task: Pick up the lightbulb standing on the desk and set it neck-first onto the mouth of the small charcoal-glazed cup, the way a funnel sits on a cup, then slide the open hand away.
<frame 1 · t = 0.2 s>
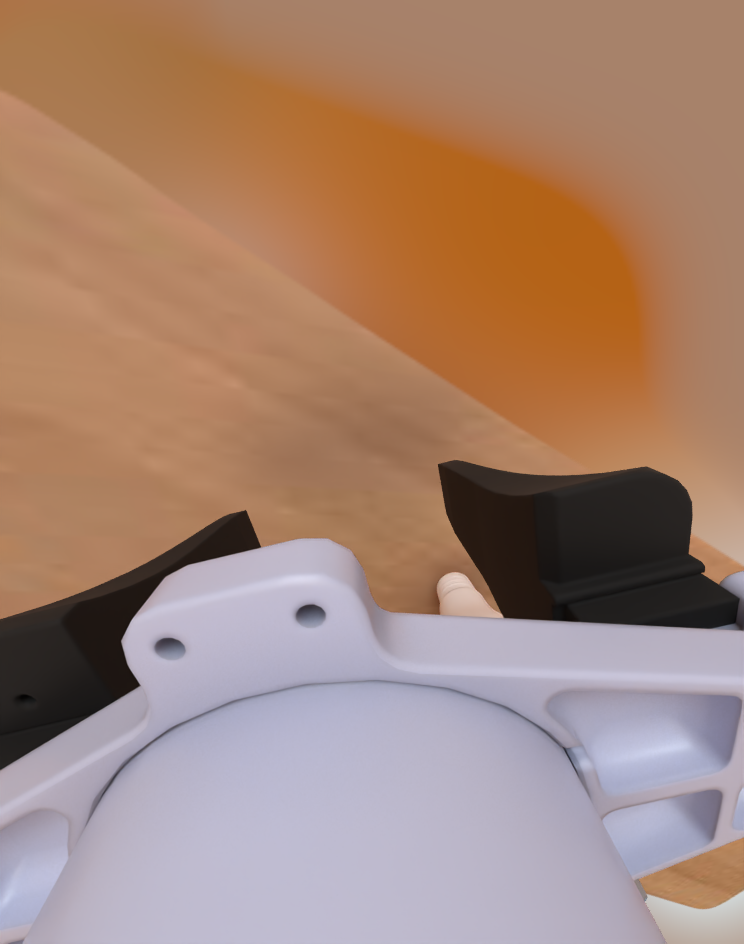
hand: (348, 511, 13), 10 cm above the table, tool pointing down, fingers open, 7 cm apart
lightbulb: (449, 578, 27), on the table
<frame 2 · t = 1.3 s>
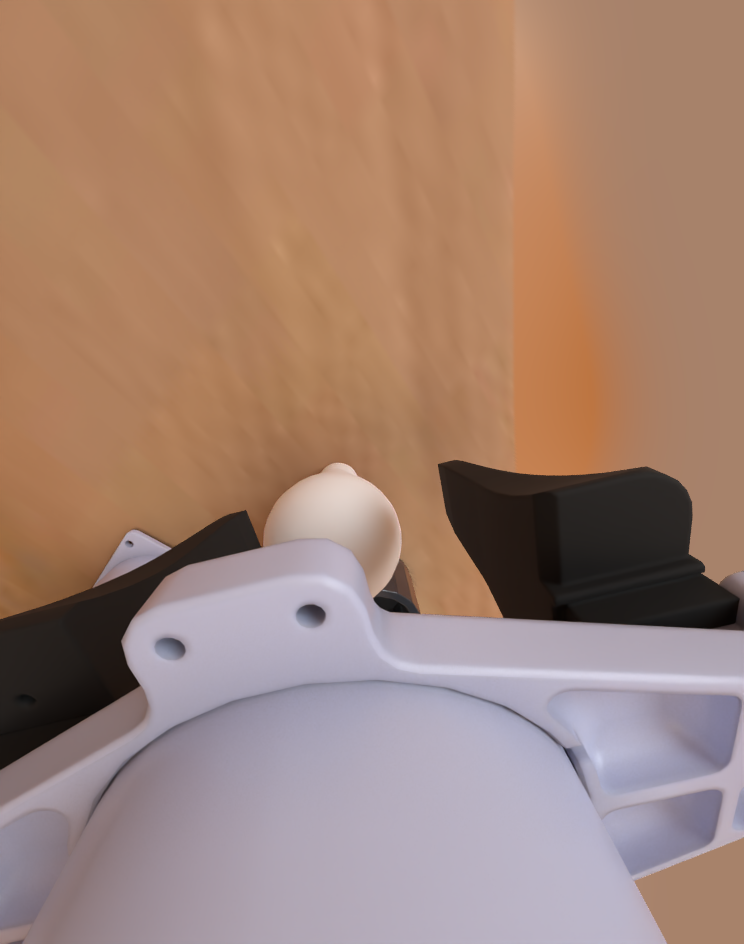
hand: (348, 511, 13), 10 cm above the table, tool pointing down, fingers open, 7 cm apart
lightbulb: (338, 475, 23), on the table
cup: (371, 582, 26), on the table
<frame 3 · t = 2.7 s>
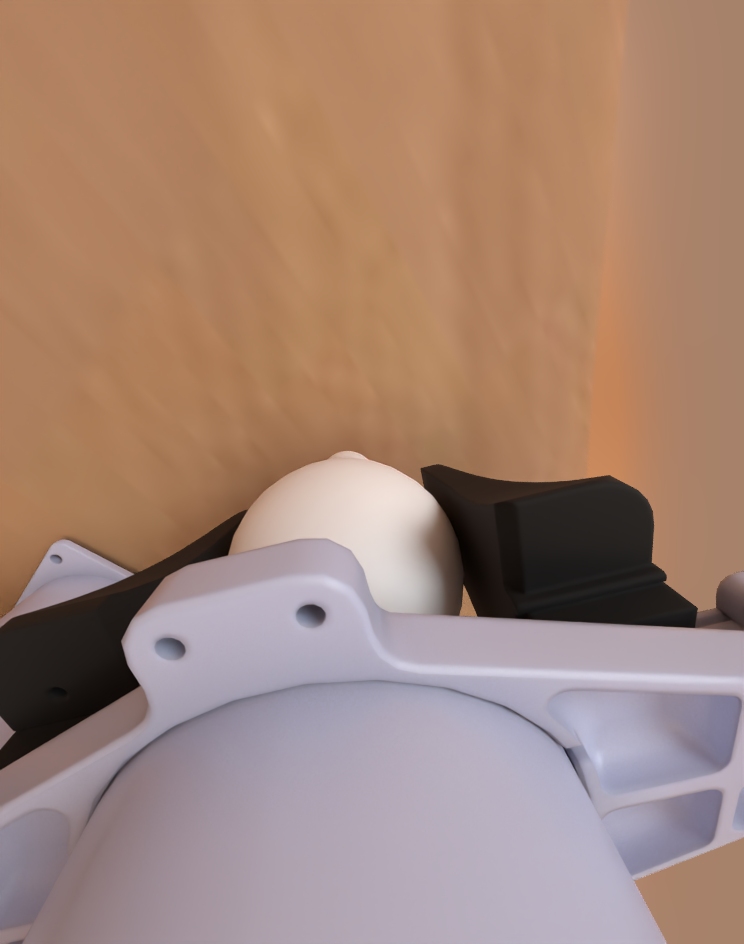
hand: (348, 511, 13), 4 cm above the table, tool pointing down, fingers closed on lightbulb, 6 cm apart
lightbulb: (347, 469, 17), on the table, touching gripper
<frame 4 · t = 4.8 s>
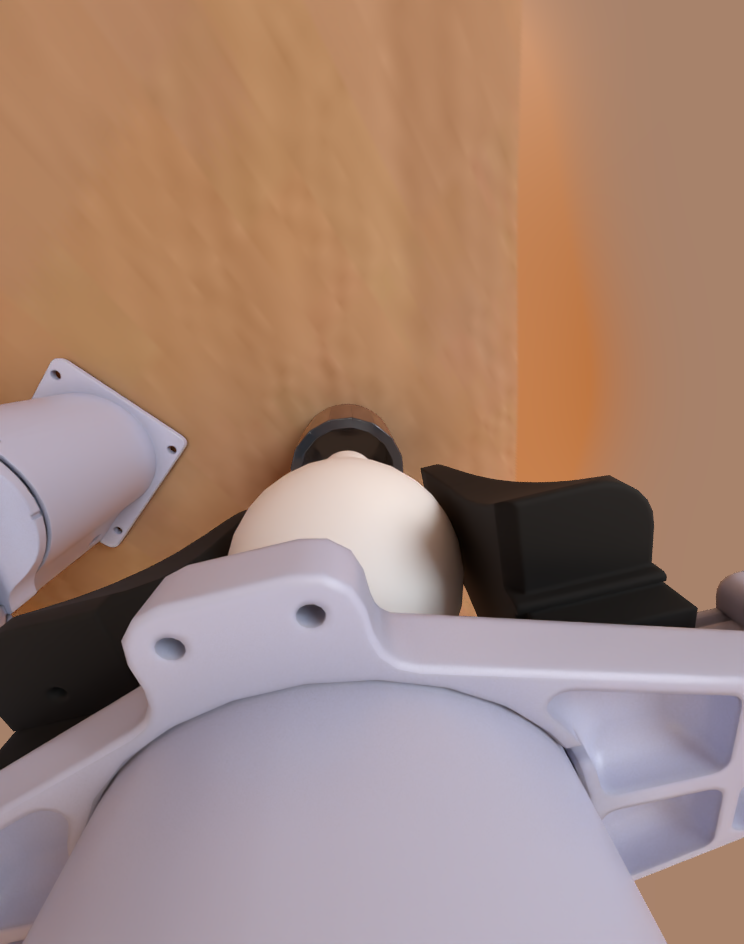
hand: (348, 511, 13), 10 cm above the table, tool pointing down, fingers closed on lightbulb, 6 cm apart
lightbulb: (347, 469, 17), point 6 cm above the table, touching gripper
cup: (347, 449, 23), on the table
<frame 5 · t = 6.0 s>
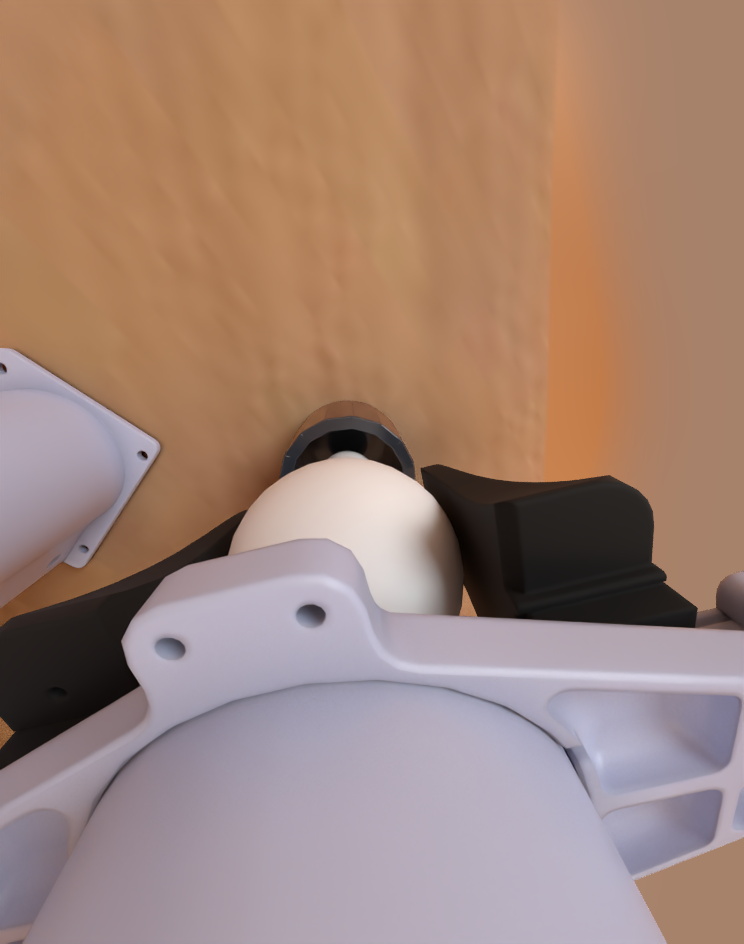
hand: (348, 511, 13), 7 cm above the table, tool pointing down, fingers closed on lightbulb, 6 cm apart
lightbulb: (347, 469, 17), point 3 cm above the table, touching gripper
cup: (348, 453, 19), on the table
when the fingers open (6 cm above the table, at t = 7.0 s): lightbulb stays where it is, resting on cup.
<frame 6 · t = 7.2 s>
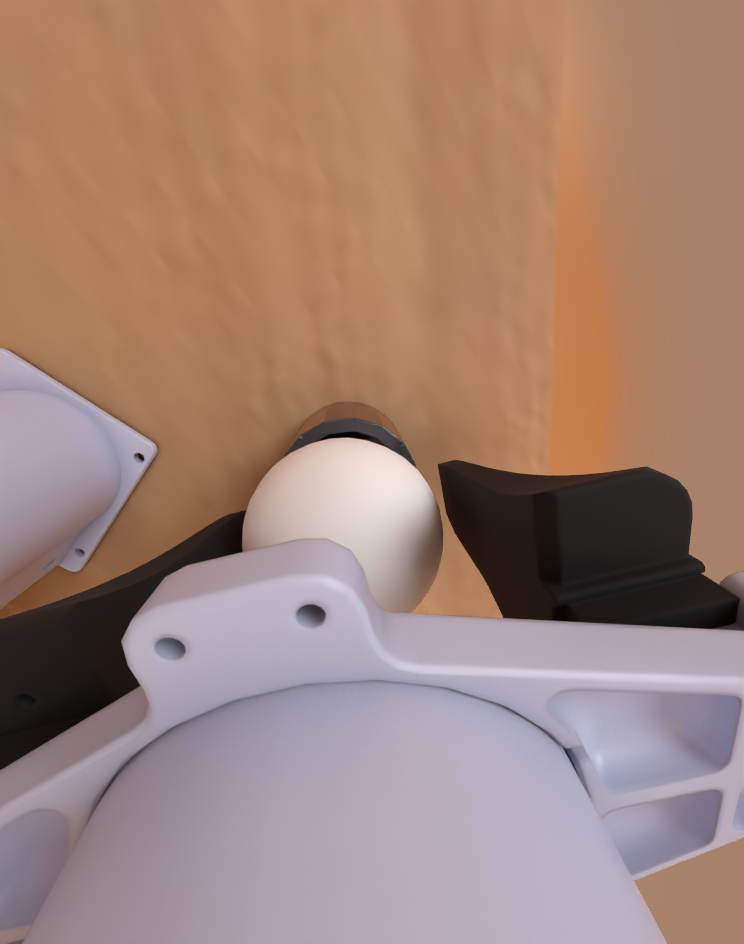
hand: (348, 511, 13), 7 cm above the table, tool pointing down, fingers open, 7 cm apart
lightbulb: (345, 456, 19), resting on cup
cup: (349, 455, 19), on the table, touching lightbulb
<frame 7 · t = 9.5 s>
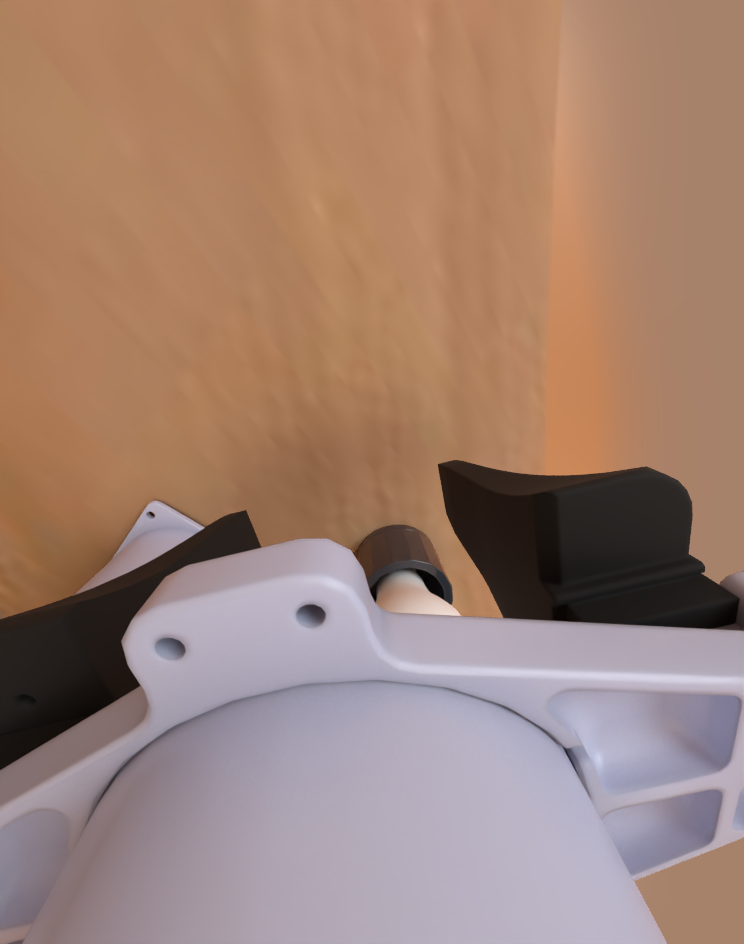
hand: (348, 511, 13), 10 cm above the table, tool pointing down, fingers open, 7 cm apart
lightbulb: (393, 562, 25), resting on cup
cup: (395, 560, 26), on the table, touching lightbulb
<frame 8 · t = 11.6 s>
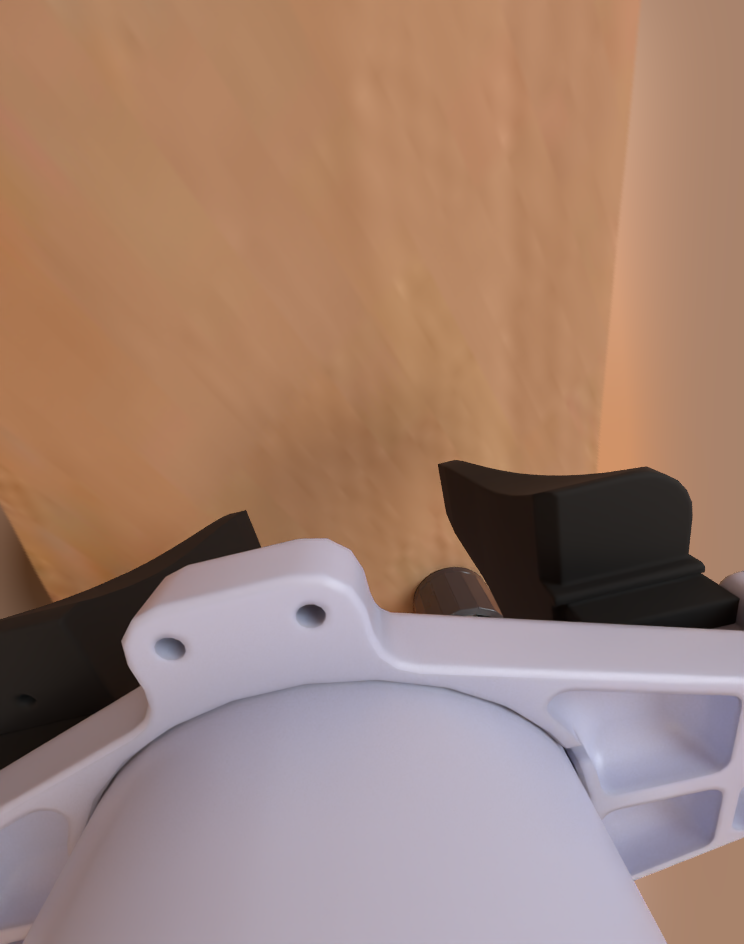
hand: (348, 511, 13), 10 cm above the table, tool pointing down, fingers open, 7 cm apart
cup: (450, 599, 27), on the table, touching lightbulb
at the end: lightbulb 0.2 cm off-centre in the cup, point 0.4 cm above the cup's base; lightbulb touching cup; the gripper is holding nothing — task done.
